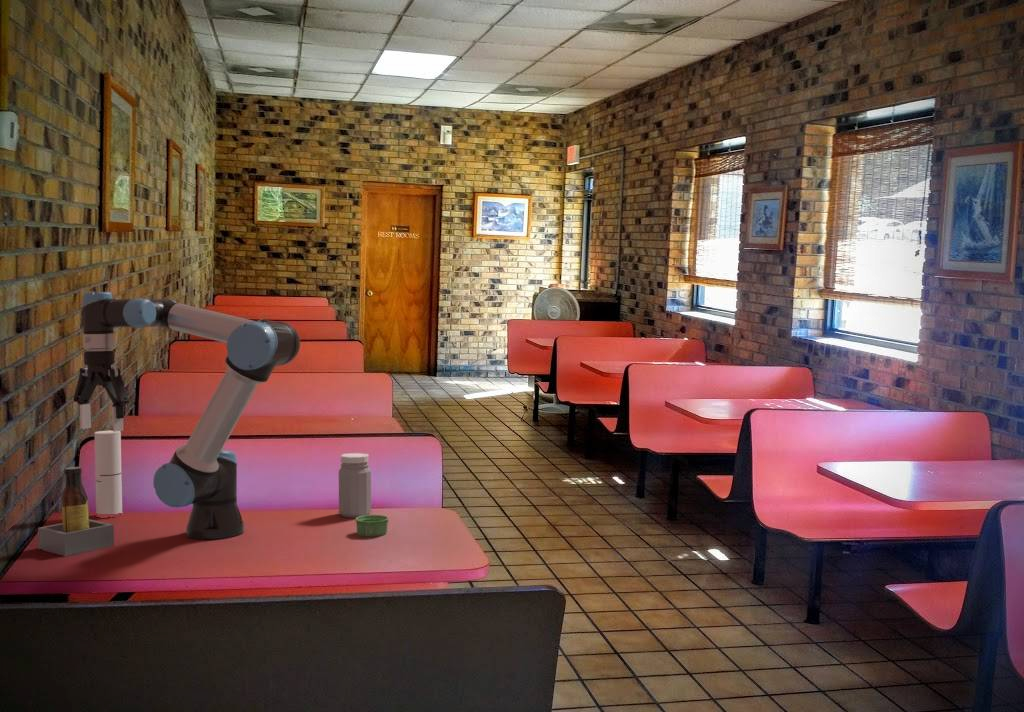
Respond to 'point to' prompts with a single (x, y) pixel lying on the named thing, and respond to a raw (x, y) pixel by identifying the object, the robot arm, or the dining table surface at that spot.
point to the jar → (354, 485)
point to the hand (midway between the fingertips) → (101, 429)
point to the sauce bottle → (74, 502)
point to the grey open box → (75, 538)
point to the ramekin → (372, 525)
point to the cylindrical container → (108, 472)
